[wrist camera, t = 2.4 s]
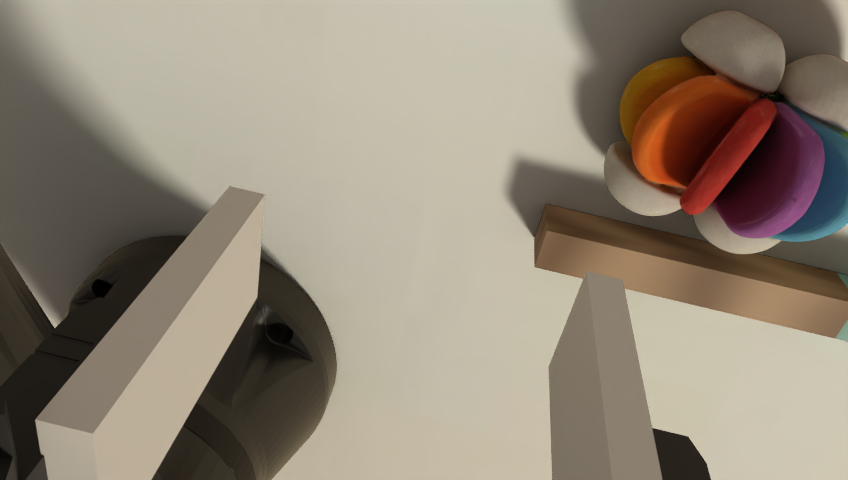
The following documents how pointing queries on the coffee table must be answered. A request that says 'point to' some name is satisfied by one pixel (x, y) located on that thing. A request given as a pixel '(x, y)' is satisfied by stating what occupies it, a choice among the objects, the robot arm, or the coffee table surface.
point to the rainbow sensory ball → (736, 138)
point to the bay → (694, 271)
